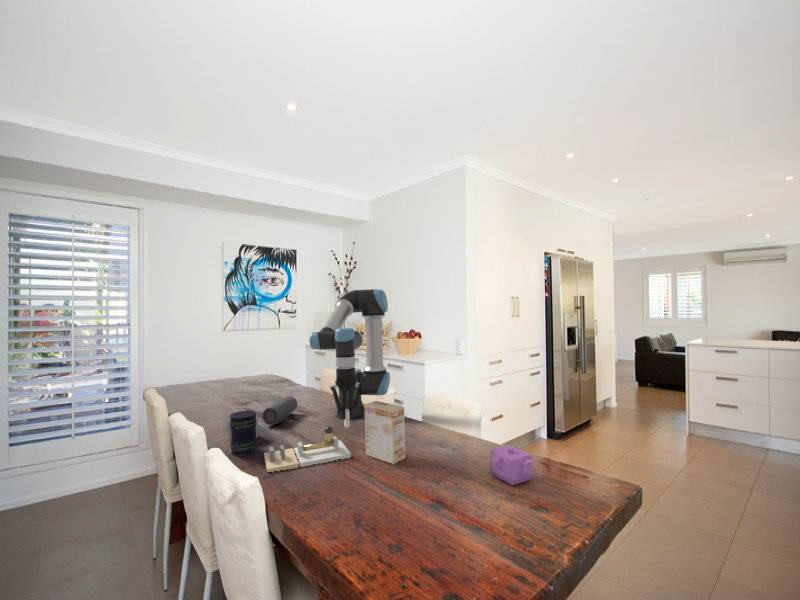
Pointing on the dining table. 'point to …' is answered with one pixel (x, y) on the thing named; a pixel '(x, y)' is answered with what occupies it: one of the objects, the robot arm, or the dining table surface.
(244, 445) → the dark blue barrel
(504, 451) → the purple knobbed block
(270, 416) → the bluetooth speaker
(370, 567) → the dining table surface
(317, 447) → the bolt
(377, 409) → the coffeecake box
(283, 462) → the door lock
